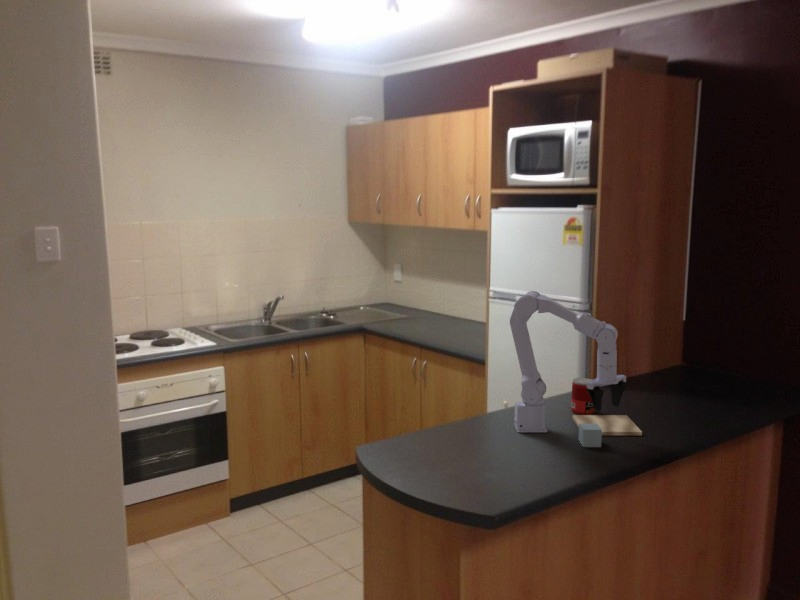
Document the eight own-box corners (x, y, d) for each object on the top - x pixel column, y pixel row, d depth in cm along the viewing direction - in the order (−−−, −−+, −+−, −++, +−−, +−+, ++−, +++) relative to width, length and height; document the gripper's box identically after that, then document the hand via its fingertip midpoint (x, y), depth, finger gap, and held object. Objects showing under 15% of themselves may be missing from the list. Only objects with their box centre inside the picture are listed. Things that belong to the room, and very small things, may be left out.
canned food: (589, 416, 239) (591, 385, 238) (567, 412, 244) (568, 381, 242) (597, 411, 245) (599, 380, 244) (575, 406, 250) (577, 376, 248)
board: (584, 435, 222) (584, 431, 222) (572, 418, 238) (572, 415, 238) (641, 435, 222) (642, 431, 222) (626, 418, 238) (626, 415, 237)
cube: (582, 447, 213) (583, 429, 212) (578, 440, 218) (579, 423, 217) (601, 447, 212) (601, 429, 212) (596, 440, 218) (597, 423, 217)
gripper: (598, 371, 209) (598, 415, 211) (634, 363, 216) (633, 406, 218) (581, 366, 215) (581, 409, 217) (616, 359, 222) (616, 401, 224)
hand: (606, 407), depth 218 cm, fingers open, 7 cm apart
